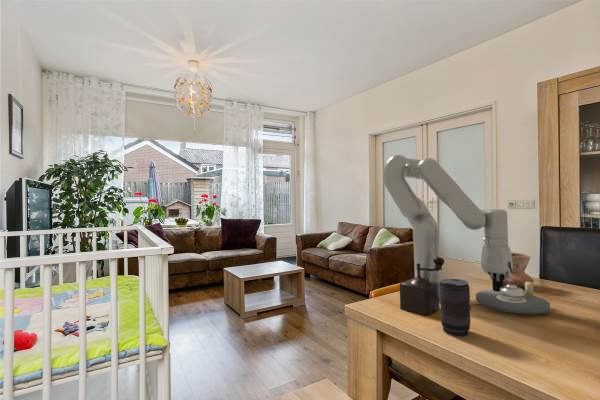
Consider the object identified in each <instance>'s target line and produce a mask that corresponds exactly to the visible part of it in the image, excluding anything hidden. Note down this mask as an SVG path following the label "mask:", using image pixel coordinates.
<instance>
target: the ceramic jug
mask: <svg viewBox="0 0 600 400" xmlns="http://www.w3.org/2000/svg"><path fill="white" fill-rule="evenodd" d="M511 255H512V263H513V271H512V273H511V275H512V277H511V278H505V280H504V281H503V286H506V284H513V285H516V286H517V287H518V288H521V289H525V282H532V283H533V284H534V278H532V277H531V276H530V275H529V274H527V273H526V272H525V271H526V269H527V267H528V265H529V262H530V260H531V259H530V258H531V256H530V255H528V254H525V253H520V252H511Z"/></svg>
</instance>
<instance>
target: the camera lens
mask: <svg viewBox="0 0 600 400" xmlns="http://www.w3.org/2000/svg"><path fill="white" fill-rule="evenodd" d="M470 289H471V288H470V285H469V281H467V280H464V279H459V278H443V279H442V278H441V279H440V285H439V293H440V300H439V304H440V321H441V326H442V330H443V332H444V334H445V333H446V334H447V335H450V336H453V337H459V338H460V337H461V338H462V337H467V336H468V335H469V330H470V329H471V309H472V308H471V304H470V301H471V293H470V291H471V290H470Z"/></svg>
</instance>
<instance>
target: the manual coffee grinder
mask: <svg viewBox="0 0 600 400" xmlns="http://www.w3.org/2000/svg"><path fill="white" fill-rule="evenodd" d="M433 262H434V263H435V268H434V269H428V268H420V263H417V264H416V265H417V267H416V269H417V277H416V278H415V277H413V278H411V279H408V280H405V281H403V282H400V283H399V302H400V303H399V304H400V305H399V308H400V310H403V311H406V312H410V313H414V314H418V315H422V316H427V317H428V316H430V315H432V314H434V313H436V312H437V311H438V310H439V309H441V305H440V300H439V283H437V282H431V281H429V279H425V278H422V277H421V276H420V270H426V271H439V270H440V271H443V265H444V264H445V259H444V258H442V257H440V256H439V257H436V258H434V260H433Z"/></svg>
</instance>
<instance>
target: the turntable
mask: <svg viewBox="0 0 600 400" xmlns="http://www.w3.org/2000/svg"><path fill="white" fill-rule="evenodd" d="M523 294H524V300H523V301H508V300H504V299H502V298H500V291H499V292H496V291H493V289H489V290H487V289H486V290H481V291H477V292H476V293H475V300H476V302H477V303H479V304H480V305H481V306H482V305H483V306H484V307H488V308H490V309H494V310H497V311H502V312H507V313H514V314H523V315H524V314H525V315H538V314H539V315H540V314H546V313H548V312H550V311H551V303H550V302H549V301H548V300H546V299H545V298H542V297H539V296H536V295H535V294H534V282H533V283H532V282H525V288H524V292H523Z"/></svg>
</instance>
